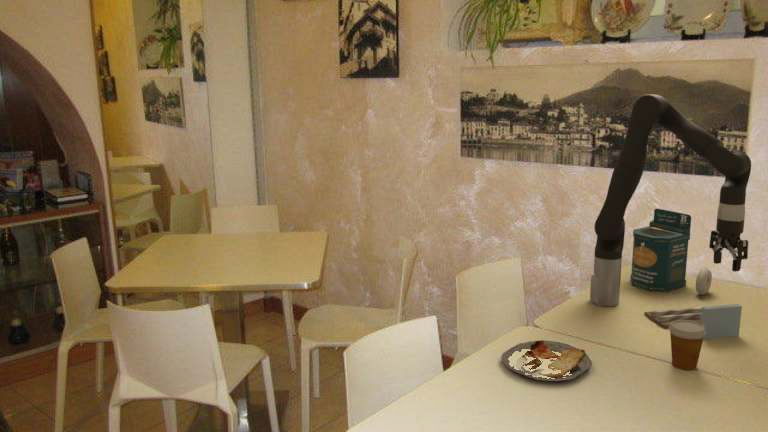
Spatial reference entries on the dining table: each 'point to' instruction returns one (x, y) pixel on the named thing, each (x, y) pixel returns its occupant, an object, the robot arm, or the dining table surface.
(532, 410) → the dining table surface
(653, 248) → the donation box
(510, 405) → the dining table surface
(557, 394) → the dining table surface
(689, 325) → the disposable coffee cup
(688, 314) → the floor track
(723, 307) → the door panel
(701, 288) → the beige flat disc
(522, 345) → the food plate
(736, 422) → the dining table surface
